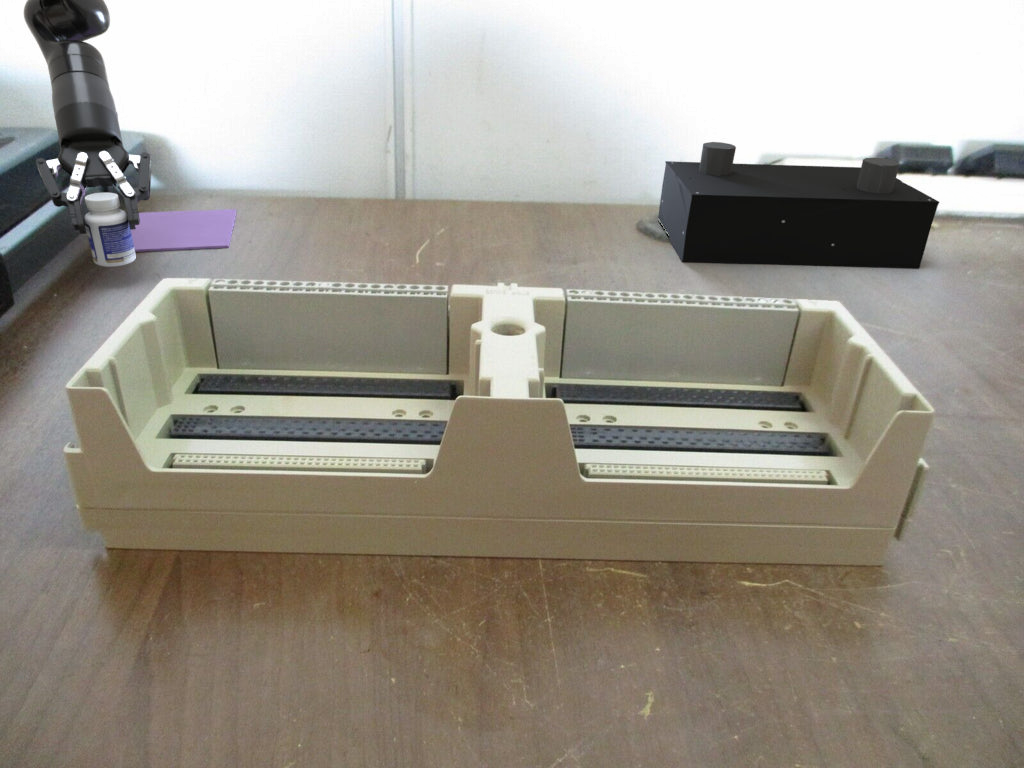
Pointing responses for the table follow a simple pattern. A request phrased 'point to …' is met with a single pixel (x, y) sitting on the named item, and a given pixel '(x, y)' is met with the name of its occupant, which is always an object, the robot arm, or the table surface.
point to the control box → (793, 213)
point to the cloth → (183, 230)
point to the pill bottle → (108, 230)
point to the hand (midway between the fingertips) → (107, 228)
